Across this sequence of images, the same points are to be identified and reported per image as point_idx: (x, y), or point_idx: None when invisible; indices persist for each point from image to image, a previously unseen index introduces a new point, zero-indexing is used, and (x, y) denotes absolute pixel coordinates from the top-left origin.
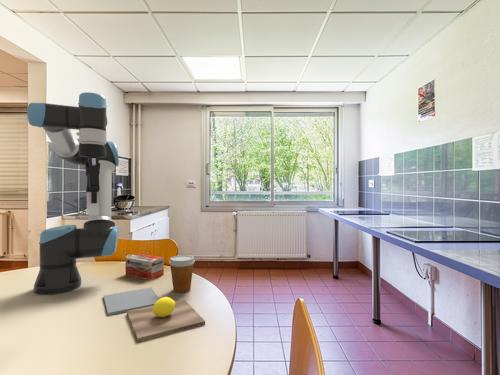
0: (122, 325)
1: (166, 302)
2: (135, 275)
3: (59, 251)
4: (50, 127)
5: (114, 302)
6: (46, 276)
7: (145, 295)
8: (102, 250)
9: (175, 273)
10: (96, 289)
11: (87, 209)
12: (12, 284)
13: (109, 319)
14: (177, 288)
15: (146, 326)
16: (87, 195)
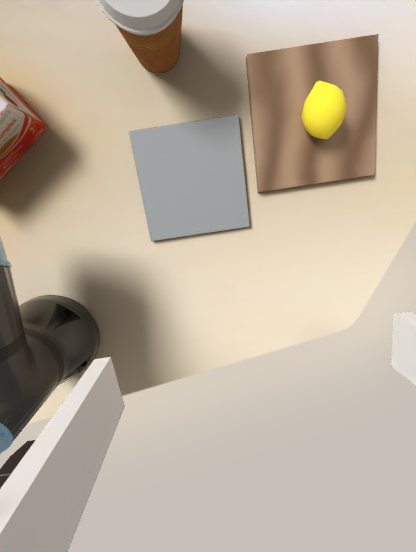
0: (300, 199)
1: (344, 101)
2: (7, 168)
3: (33, 383)
4: None
5: (200, 217)
6: (74, 368)
7: (182, 149)
8: (6, 267)
9: (172, 34)
10: (91, 259)
11: (119, 411)
12: None
13: (265, 222)
14: (175, 57)
15: (342, 157)
16: (65, 544)
